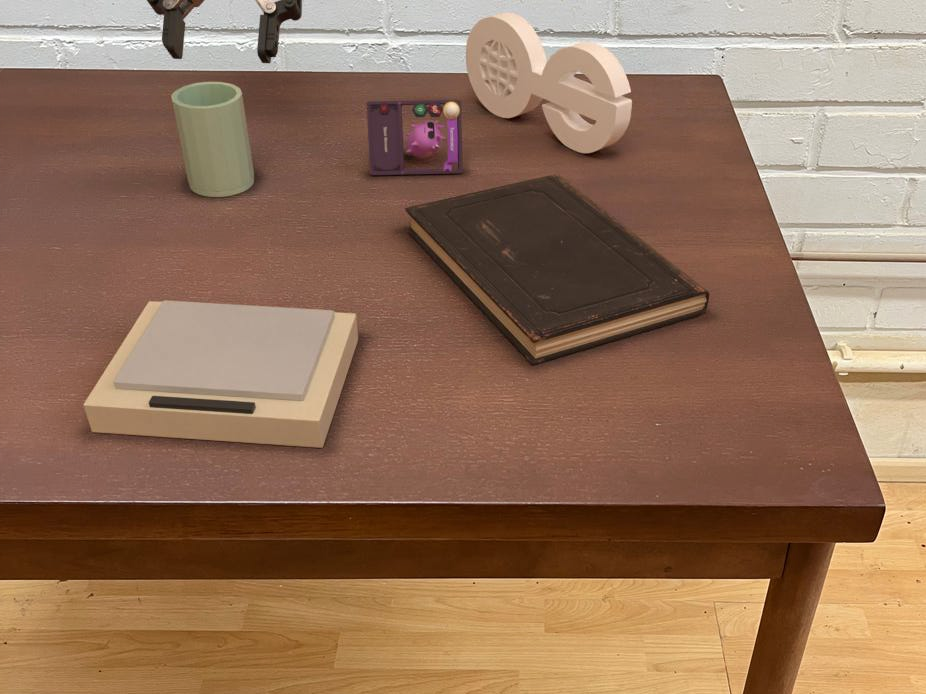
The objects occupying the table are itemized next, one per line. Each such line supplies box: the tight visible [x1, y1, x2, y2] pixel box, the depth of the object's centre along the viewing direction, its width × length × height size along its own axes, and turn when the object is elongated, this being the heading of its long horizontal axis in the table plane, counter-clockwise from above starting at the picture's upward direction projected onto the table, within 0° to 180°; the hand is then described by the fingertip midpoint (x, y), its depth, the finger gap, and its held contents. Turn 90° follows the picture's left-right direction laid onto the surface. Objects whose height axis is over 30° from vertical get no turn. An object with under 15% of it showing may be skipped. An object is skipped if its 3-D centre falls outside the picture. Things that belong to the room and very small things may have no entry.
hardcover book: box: [404, 173, 710, 366], centre depth 84 cm, size 16×23×2 cm
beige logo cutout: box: [465, 12, 633, 154], centre depth 103 cm, size 22×2×10 cm, turn 42°
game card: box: [366, 99, 463, 176], centre depth 99 cm, size 7×5×9 cm
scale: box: [83, 300, 359, 449], centre depth 72 cm, size 16×13×3 cm
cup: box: [170, 81, 255, 198], centre depth 94 cm, size 6×6×8 cm
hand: (219, 57), depth 94 cm, fingers open, 8 cm apart
